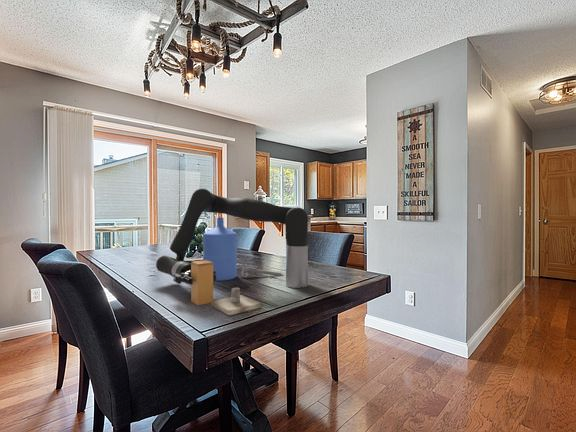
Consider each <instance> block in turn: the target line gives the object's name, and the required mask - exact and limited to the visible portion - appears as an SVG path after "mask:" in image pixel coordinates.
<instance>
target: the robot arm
mask: <svg viewBox="0 0 576 432" xmlns="http://www.w3.org/2000/svg"><path fill="white" fill-rule="evenodd" d="M188 203H189V204H188V206H187V208H186V212H185V214H184V217H183V220H182V221H181V225H180V226H179V229H178V231H177V233H176V234H175V236H174V237H173V240H172V242H171V244H170V246H169V250H170V251H171V252H172V253H175V254H176V258H175V257H171V256H169V255H165V254H163V255H161V256H160V257H158V258H157V260H156V263H155V267H156V270H157V271H159V272H161V273H163V274H167V275H169V276H171V277H172V278H173V280H172V281H174V283H176V284H178V285H181V284H182V283H183V284H186V285H187V284H188V285H190V286H191V285H192V284H193V279H192V278H191V262H188V261H185V258H186V253H187V251H188V250H189V247H190V246H191V243H192V242H193V239H194V237H195V232H196V229H197V225H198V221H199V220H200V218H201V215H202V214H203V213H214V214H223V215H228V216H231V217H235V218H239V219H242V220H248V221H252V222H253V221H254V222H260V223H261V222H265V223H278V224H282V225H285V226H284V227H285V286H286V287H288V288H292V289H293V288H294V289H299V288H300V289H302V288H308V287H309V262H308V250H309V237H308V236H309V235H308V233H309V231H308V230H309V229H308V228H309V227H308V226H309V225H308V224H309V220H310V218H309V214H308V212H307V211H306V210H305V209H304V208H302V207H291V206H290V207H289V206H281V205H276V204H273V203H270V202H266V201H263V200H258V199H254V198H249V197H233V198H232V197H230V198H229V197H224V196H220V195H217V194H214V193H212V192H211V191H209V190H208V189H206V188H197V189H196V190H195V191H193V193H192V195H191V197H190V200H189V202H188ZM215 273H216V271H213V282H216V281H215V280H216V275H215ZM307 286H308V287H307ZM301 287H302V288H301Z"/></svg>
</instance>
